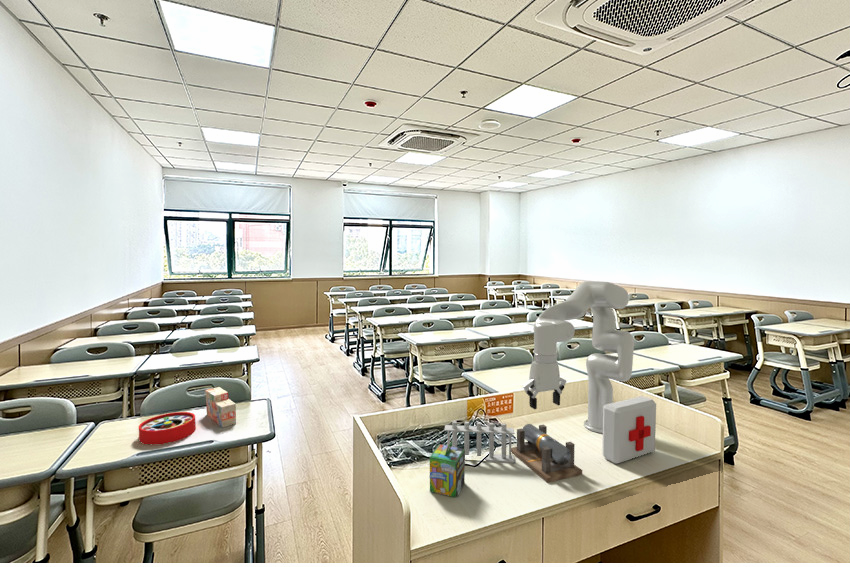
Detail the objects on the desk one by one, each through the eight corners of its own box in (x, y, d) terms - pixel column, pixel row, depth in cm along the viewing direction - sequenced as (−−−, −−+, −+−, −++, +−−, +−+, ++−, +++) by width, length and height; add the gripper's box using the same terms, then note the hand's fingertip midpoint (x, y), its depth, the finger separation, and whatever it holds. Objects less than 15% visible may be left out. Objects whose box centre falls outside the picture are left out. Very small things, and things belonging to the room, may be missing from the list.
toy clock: (198, 422, 165) (139, 435, 152) (199, 436, 165) (140, 450, 153) (191, 408, 180) (137, 419, 168) (192, 421, 181) (138, 433, 169)
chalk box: (439, 477, 131) (438, 433, 131) (465, 482, 128) (465, 438, 127) (428, 492, 123) (428, 446, 122) (456, 498, 119) (456, 451, 118)
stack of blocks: (236, 423, 177) (235, 396, 176) (221, 428, 172) (220, 400, 171) (220, 411, 192) (219, 386, 191) (206, 414, 187) (205, 389, 187)
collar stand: (541, 445, 153) (541, 421, 152) (582, 474, 132) (582, 446, 131) (510, 451, 148) (510, 427, 147) (547, 482, 127) (547, 454, 127)
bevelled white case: (619, 468, 136) (620, 411, 135) (600, 457, 143) (601, 403, 142) (659, 454, 145) (661, 401, 143) (639, 445, 152) (640, 394, 151)
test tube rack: (444, 459, 143) (444, 423, 142) (445, 453, 148) (445, 418, 147) (514, 463, 140) (514, 427, 139) (513, 457, 144) (513, 421, 143)
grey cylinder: (534, 438, 150) (535, 422, 150) (570, 463, 131) (571, 446, 131) (521, 440, 148) (521, 424, 148) (555, 466, 129) (556, 448, 129)
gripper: (558, 353, 144) (558, 399, 146) (517, 358, 139) (517, 405, 140) (572, 358, 137) (572, 406, 138) (530, 363, 132) (530, 413, 133)
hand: (544, 406), depth 139 cm, fingers open, 9 cm apart
